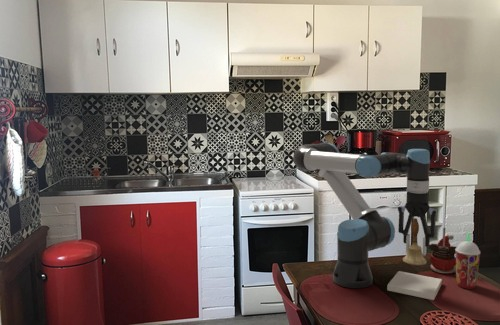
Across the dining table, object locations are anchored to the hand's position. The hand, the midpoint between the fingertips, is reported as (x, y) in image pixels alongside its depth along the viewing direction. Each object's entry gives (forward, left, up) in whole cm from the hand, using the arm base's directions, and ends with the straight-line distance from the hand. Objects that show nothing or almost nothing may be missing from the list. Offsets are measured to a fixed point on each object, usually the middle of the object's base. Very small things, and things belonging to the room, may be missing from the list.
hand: (416, 253), depth 156 cm
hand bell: (0, -3, -2) cm, 4 cm away
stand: (0, 0, -13) cm, 13 cm away
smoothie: (+16, +11, -13) cm, 24 cm away
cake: (+6, +23, -13) cm, 27 cm away
